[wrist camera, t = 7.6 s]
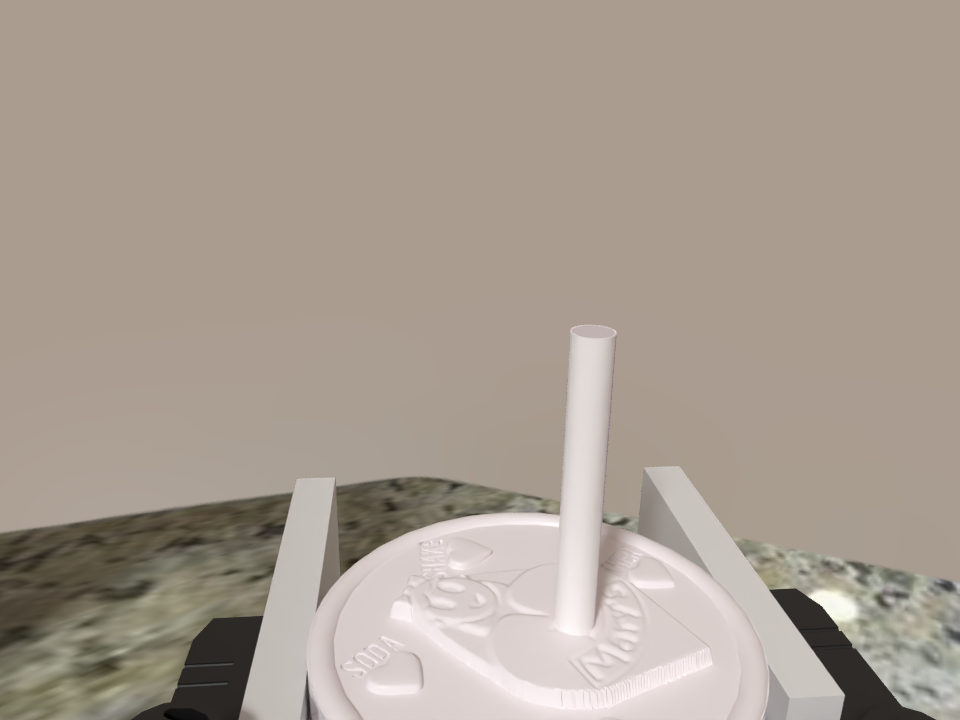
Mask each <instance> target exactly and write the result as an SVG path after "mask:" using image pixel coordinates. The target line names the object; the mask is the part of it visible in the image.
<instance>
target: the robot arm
mask: <svg viewBox="0 0 960 720" xmlns="http://www.w3.org/2000/svg"><path fill="white" fill-rule="evenodd" d="M637 534H640V535H642V536H644V537H646V538H648V539H651V540H653V541H655V542H657V543H659V544H662V545H664V546H666V547H668V548H670V549H672V550H674V551H675V552H677V553H678V554H680V555H682V556H683V557H685V558H686V559H688V560H690V561H691V562H693V563H695V564H696V565H698V566H699V567H701V568H702V569H703V570H704V571H705V572H707V573H708V574H709V575H710V576H711V577H713V578H714V579H715V580H716V581H717V582H718V583H720V584H721V585H722V586H723V587H724V588H725V589H726V590H727V591H728V592H729V593H730V594H731V595H732V596H733V598H734V599H735V600H736V601H737V602H738V603H739V604H740V606H741V607H742V608H743V610H744V611H745V612H746V614H747V615H748V617H749V618H750V620H751V622H752V623H753V625H754V627H755V628H756V630H757V633H758V635H759V637H760V639H761V642H762V644H763V647H764V650H765V654H766V657H767V662H768V669H769V696H768V702H767V708H766V713H765V720H936V719H934V718H932V717H930V716H928V715H926V714H924V713H922V712H919V711H915V710H912V709H908V708H905V707H902V706H901V705H900V703H899V702H898V701H897V700H896V698H895V697H894V696H893V695H892V693H891V692H890V691H889V690H888V688H887V687H886V686H885V685H884V683H883V682H882V681H881V680H880V678H879V677H878V676H877V675H876V674H875V672H874V671H873V670H872V669H871V667H870V666H869V665H868V664H867V662H866V661H865V660H864V659H863V657H862V656H861V655H860V654H859V652H858V651H857V650H856V649H853V648H852V644H851V642H850V641H849V640H848V639H847V637H846V636H845V635H844V634H843V632H842V631H839V630H838V626H837V625H836V624H835V622H834V621H833V620H832V619H831V617H830V616H829V615H828V614H827V612H826V611H825V610H824V609H823V607H822V606H821V605H819V604H818V603H816V602H815V601H813V600H812V599H810V598H809V597H807V596H806V595H804V594H803V593H802V592H800V591H799V590H797V589H775V590H768V588H767V587H766V585H765V584H764V583H763V581H762V580H761V579H760V577H759V576H758V574H757V573H756V572H755V570H754V569H753V567H752V566H751V565H750V563H749V562H748V561H747V559H746V558H745V556H744V555H743V554H742V552H741V551H740V550H739V548H738V547H737V545H736V544H735V543H734V541H733V540H732V538H731V537H730V536H729V534H728V533H727V532H726V530H725V529H724V527H723V526H722V525H721V523H720V522H719V521H718V519H717V518H716V516H715V515H714V514H713V512H712V511H711V509H710V508H709V507H708V505H707V504H706V503H705V501H704V500H703V498H702V497H701V496H700V494H699V493H698V492H697V490H696V489H695V487H694V486H693V485H692V483H691V482H690V481H689V479H688V478H687V476H686V475H685V474H684V472H683V471H682V470H681V468H680V467H679V466H674V467H672V466H671V467H644V469H643V480H642V490H641V501H640V512H639V522H638V532H637ZM339 578H340V561H339V540H338V519H337V498H336V478H335V477H321V478H297V479H296V484H295V488H294V492H293V496H292V500H291V504H290V508H289V513H288V517H287V521H286V525H285V529H284V533H283V537H282V542H281V546H280V550H279V554H278V558H277V562H276V566H275V571H274V575H273V579H272V583H271V587H270V591H269V596H268V600H267V604H266V608H265V612H264V616H254V617H233V618H214V619H213V620H212V621H211V622H210V623H209V624H208V625H207V626H206V627H205V628H204V629H203V630H202V631H201V632H200V633H199V634H198V635H197V636H196V637H195V639H194V640H193V642H192V645H191V647H190V650H189V653H188V656H187V659H186V661H185V668H184V669H183V670H182V673H181V676H180V678H179V681H178V687H177V689H176V690H175V692H174V695H173V698H172V701H171V702H170V703H163V704H161V705H158V706H156V707H153V708H151V709H148V710H146V711H143V712H141V713H140V714H139V715H137V716H136V717H134V718H133V719H132V720H307V719H308V710H309V685H308V671H307V659H306V655H307V641H308V636H309V632H310V627H311V624H312V622H313V619H314V616H315V613H316V611H317V610H318V608H319V606H320V604H321V602H322V600H323V599H324V597H325V596H326V594H327V593H328V591H329V590H330V589H331V587H332V586H333V585H334V584H335V583H336V582H337V580H338V579H339Z"/></svg>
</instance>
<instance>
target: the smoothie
mask: <svg viewBox="0 0 960 720" xmlns="http://www.w3.org/2000/svg"><path fill="white" fill-rule="evenodd" d="M615 347H616V331H615V330H613V329H611V328H608V327H604V326H598V325H581V326H576V327H573V328H572V329H571V330H570V344H569V362H568V363H569V364H568V380H567V398H566V416H565V435H564V452H563V471H562V489H561V506H560V515H554V514H545V513H494V514H484V515H473V516H467V517H462V518H457V519H453V520H448V521H443V522H438V523H435V524H432V525H429V526H426V527H423V528H420V529H417V530H414V531H411V532H408V533H406V534H404V535H402V536H400V537H398V538H396V539H394V540H392V541H390V542H388V543H386V544H384V545H382V546H380V547H378V548H377V549H375V550H374V551H372V552H371V553H369V554H368V555H366V556H365V557H363V558H362V559H361V560H359V561H358V562H357V563H355V564H354V565H353V566H352V567H351V568H350V569H348V570H347V571H346V572H345V573H344V574H343V575H342V576H341V577H340V578H339V579H338V580H337V582H336V583H335V584H334V585H333V586H332V587H331V589H330V590H329V591H328V593H327V594H326V596H325V597H324V599H323V600H322V602H321V604H320V606H319V608H318V610H317V611H316V613H315V616H314V619H313V622H312V624H311V627H310V632H309V636H308V641H307V655H306V659H307V671H308V685H309V710H308V719H307V720H765V713H766V708H767V702H768V696H769V669H768V662H767V657H766V654H765V650H764V647H763V644H762V642H761V639H760V637H759V635H758V633H757V630H756V628H755V627H754V625H753V623H752V622H751V620H750V618H749V617H748V615H747V614H746V612H745V611H744V610H743V608H742V607H741V606H740V604H739V603H738V602H737V601H736V600H735V599H734V598H733V596H732V595H731V594H730V593H729V592H728V591H727V590H726V589H725V588H724V587H723V586H722V585H721V584H720V583H718V582H717V581H716V580H715V579H714V578H713V577H711V576H710V575H709V574H708V573H707V572H705V571H704V570H703V569H702V568H701V567H699V566H698V565H696V564H695V563H693V562H691V561H690V560H688V559H686V558H685V557H683V556H682V555H680V554H678V553H677V552H675V551H674V550H672V549H670V548H668V547H666V546H664V545H662V544H659V543H657V542H655V541H653V540H651V539H648V538H646V537H644V536H642V535H640V534H637V533H634V532H631V531H627V530H624V529H621V528H618V527H615V526H612V525H609V524H606V523H602V518H603V505H604V492H605V478H606V465H607V452H608V438H609V426H610V413H611V399H612V386H613V372H614V360H615Z"/></svg>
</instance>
